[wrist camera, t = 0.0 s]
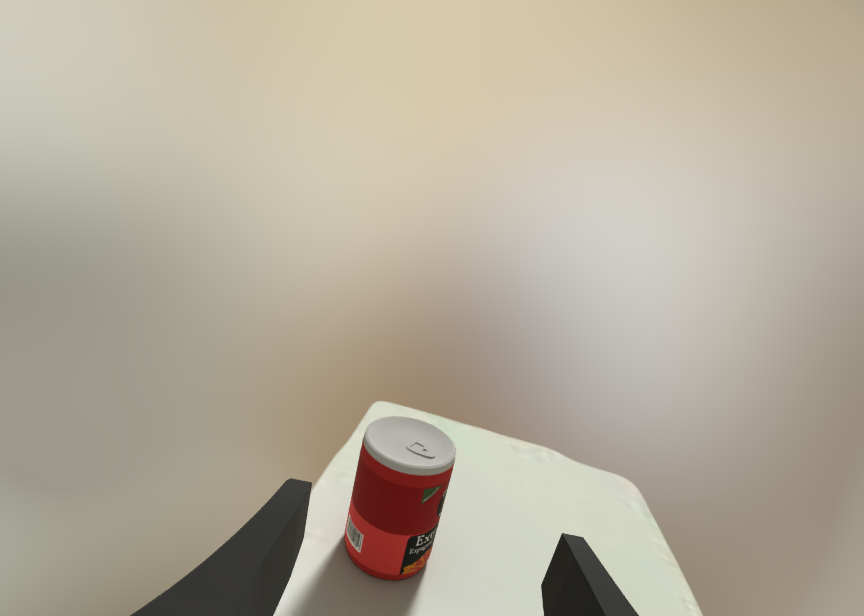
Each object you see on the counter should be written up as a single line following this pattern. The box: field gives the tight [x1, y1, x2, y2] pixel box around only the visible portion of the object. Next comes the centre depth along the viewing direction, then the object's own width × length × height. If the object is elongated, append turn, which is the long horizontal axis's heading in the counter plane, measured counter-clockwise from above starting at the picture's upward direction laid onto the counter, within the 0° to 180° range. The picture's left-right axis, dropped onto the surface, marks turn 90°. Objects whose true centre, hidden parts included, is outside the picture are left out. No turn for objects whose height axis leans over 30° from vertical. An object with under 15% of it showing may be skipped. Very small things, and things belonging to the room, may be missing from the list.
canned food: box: [345, 416, 456, 580], centre depth 39 cm, size 8×8×11 cm
